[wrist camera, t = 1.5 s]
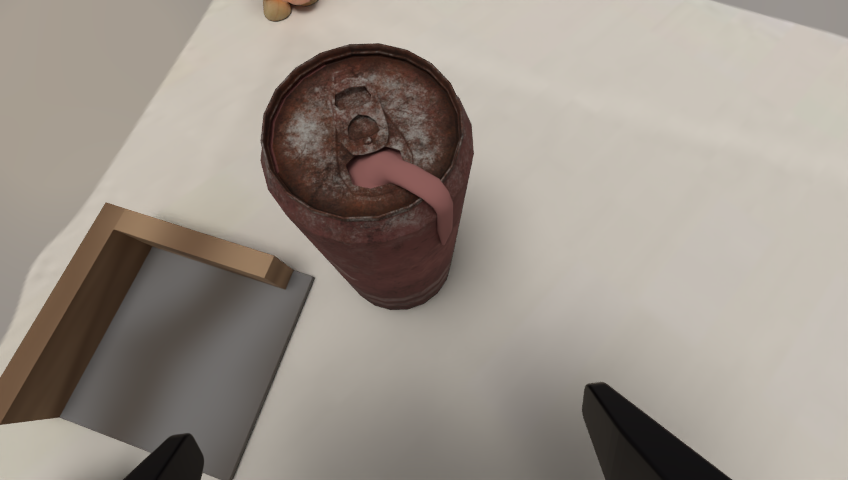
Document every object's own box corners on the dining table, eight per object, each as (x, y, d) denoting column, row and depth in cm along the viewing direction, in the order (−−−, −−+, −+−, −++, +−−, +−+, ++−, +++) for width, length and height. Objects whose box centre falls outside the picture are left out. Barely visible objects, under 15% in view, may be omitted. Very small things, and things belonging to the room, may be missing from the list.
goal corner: (314, 277, 24) (296, 262, 20) (231, 480, 21) (193, 501, 17) (149, 224, 25) (105, 202, 22) (46, 408, 22) (-23, 416, 18)
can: (414, 335, 23) (394, 286, 9) (326, 271, 24) (197, 147, 11) (474, 250, 24) (529, 102, 11) (388, 194, 25) (343, -2, 12)
